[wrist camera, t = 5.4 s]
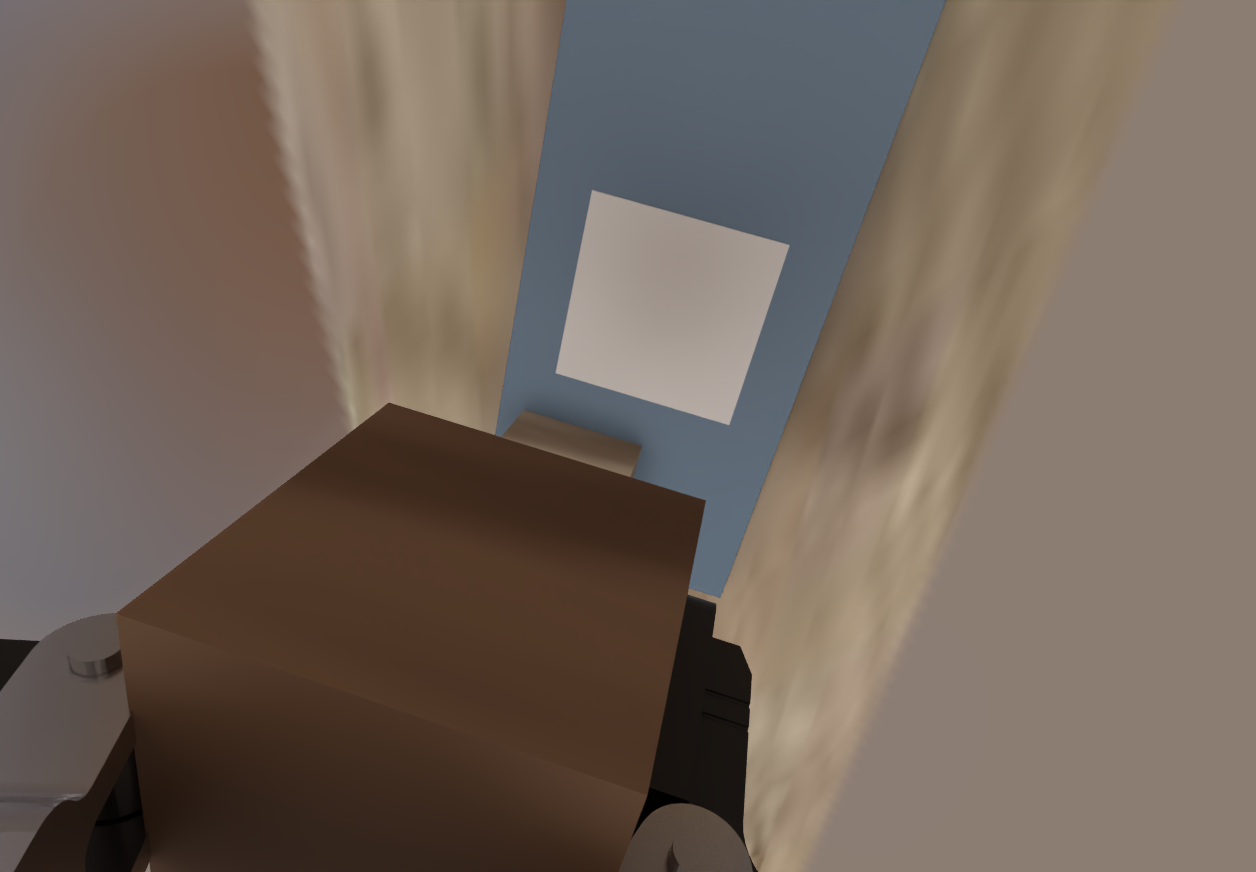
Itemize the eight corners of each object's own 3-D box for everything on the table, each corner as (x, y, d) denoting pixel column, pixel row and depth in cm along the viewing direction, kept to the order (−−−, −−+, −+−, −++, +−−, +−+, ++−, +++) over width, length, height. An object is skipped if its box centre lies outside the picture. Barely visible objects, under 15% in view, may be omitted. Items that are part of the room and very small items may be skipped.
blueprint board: (591, -96, 22) (582, -105, 21) (943, -8, 21) (951, -13, 20) (489, 510, 33) (480, 523, 32) (722, 583, 32) (720, 599, 31)
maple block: (523, 409, 29) (476, 466, 25) (642, 445, 29) (615, 510, 24) (505, 510, 31) (459, 578, 27) (615, 544, 31) (585, 620, 26)
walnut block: (388, 402, 11) (115, 614, 6) (706, 500, 11) (646, 795, 6) (368, 642, 13) (156, 920, 9) (629, 729, 13) (544, 1065, 8)
